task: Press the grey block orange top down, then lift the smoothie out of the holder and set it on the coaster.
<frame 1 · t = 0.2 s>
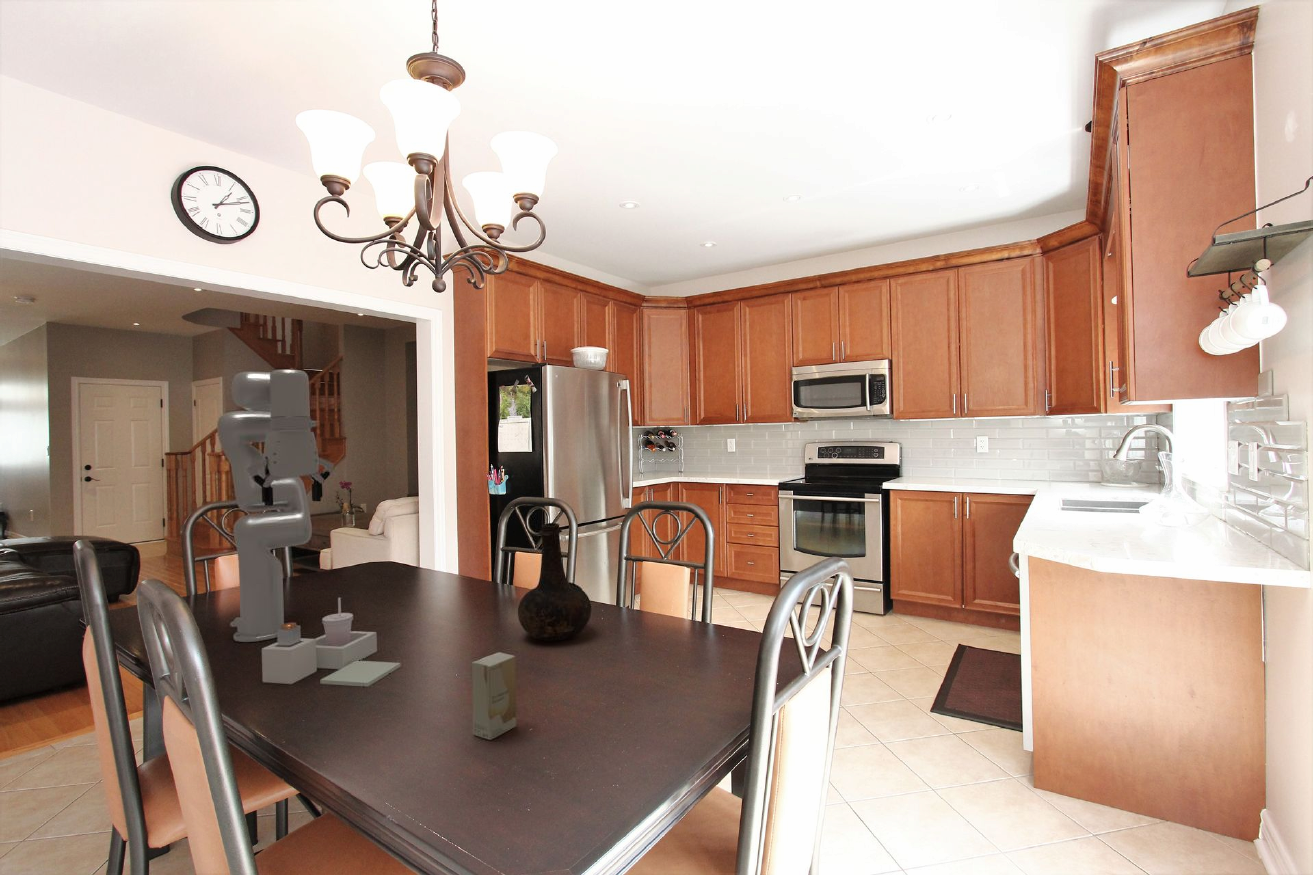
hand: (293, 503, 138), 36 cm above the table, tool pointing down, fingers open, 9 cm apart
glass bottle: (555, 636, 155), on the table
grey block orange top: (289, 639, 132), point 8 cm above the table, slide at 0.0 cm
smoothie: (338, 659, 143), resting in holder
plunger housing: (290, 676, 133), on the table
coaster: (361, 674, 132), on the table
holder: (338, 658, 143), on the table
skincare box: (495, 731, 106), on the table
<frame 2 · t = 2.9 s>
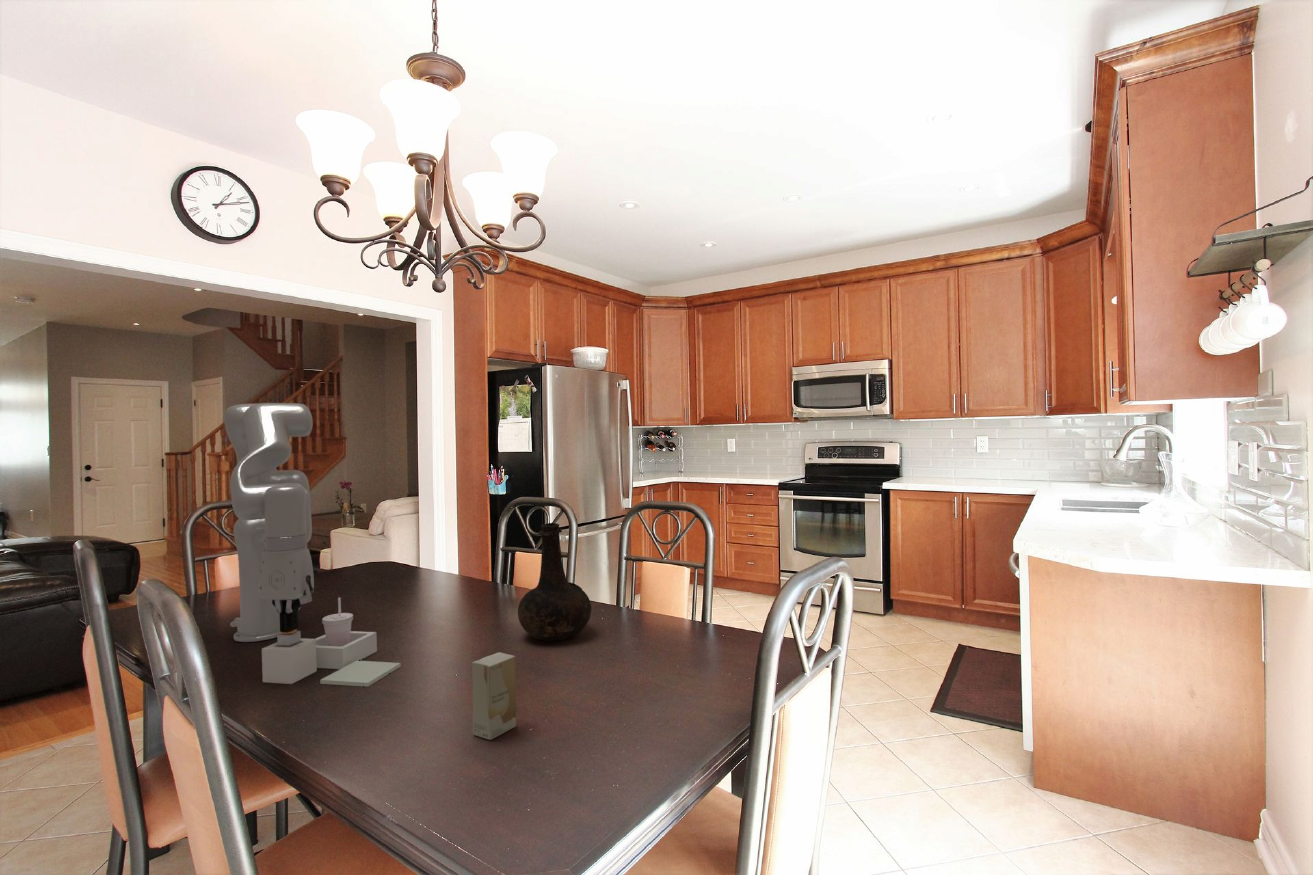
hand: (289, 630, 132), 10 cm above the table, tool pointing down, fingers closed
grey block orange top: (289, 645, 132), point 7 cm above the table, slide at 1.2 cm, touching gripper
everything else where it was.
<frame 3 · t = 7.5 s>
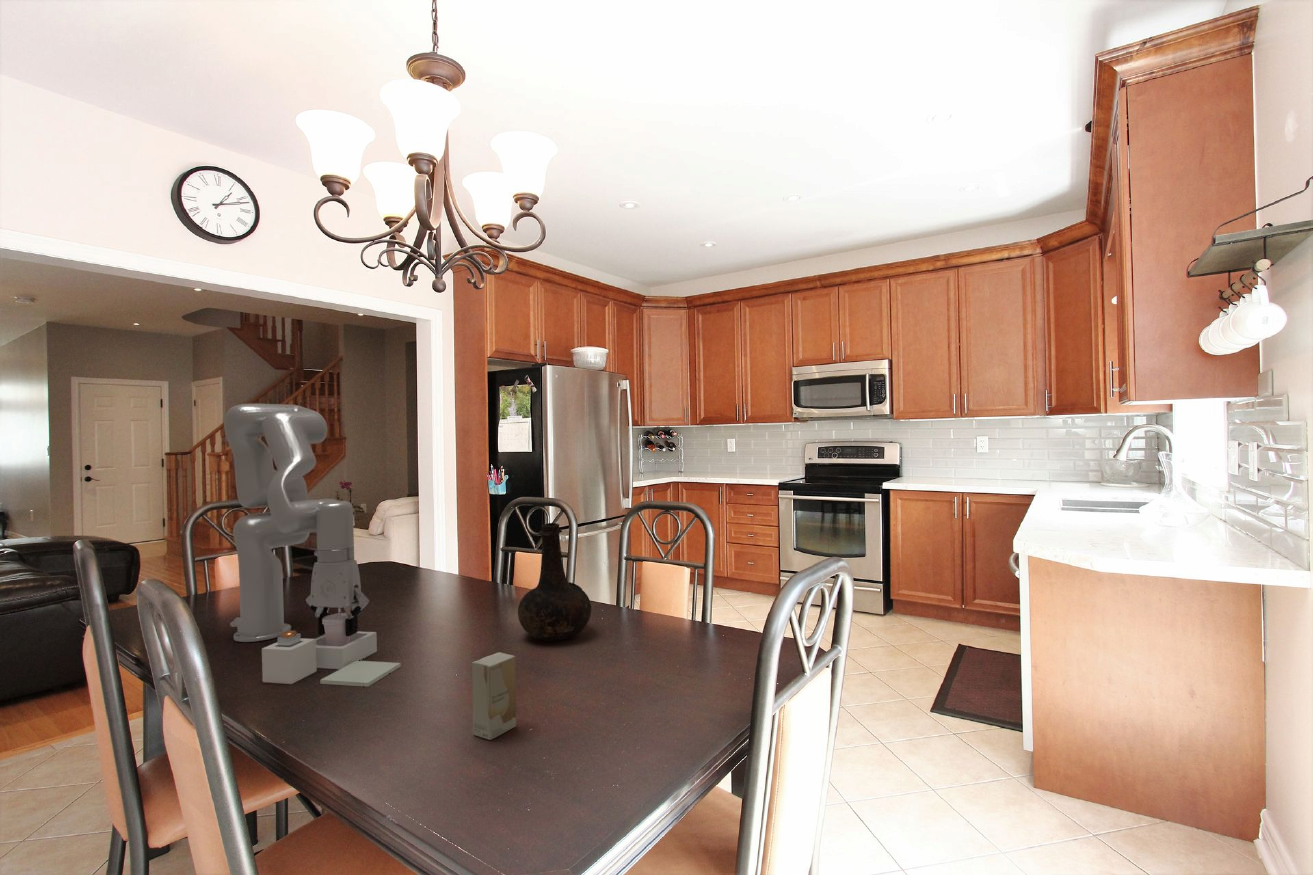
hand: (338, 633, 143), 6 cm above the table, tool pointing down, fingers closed on smoothie, 6 cm apart
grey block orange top: (289, 648, 132), point 6 cm above the table, slide at 1.7 cm
smoothie: (338, 659, 143), resting in holder, touching gripper
everything else where it was.
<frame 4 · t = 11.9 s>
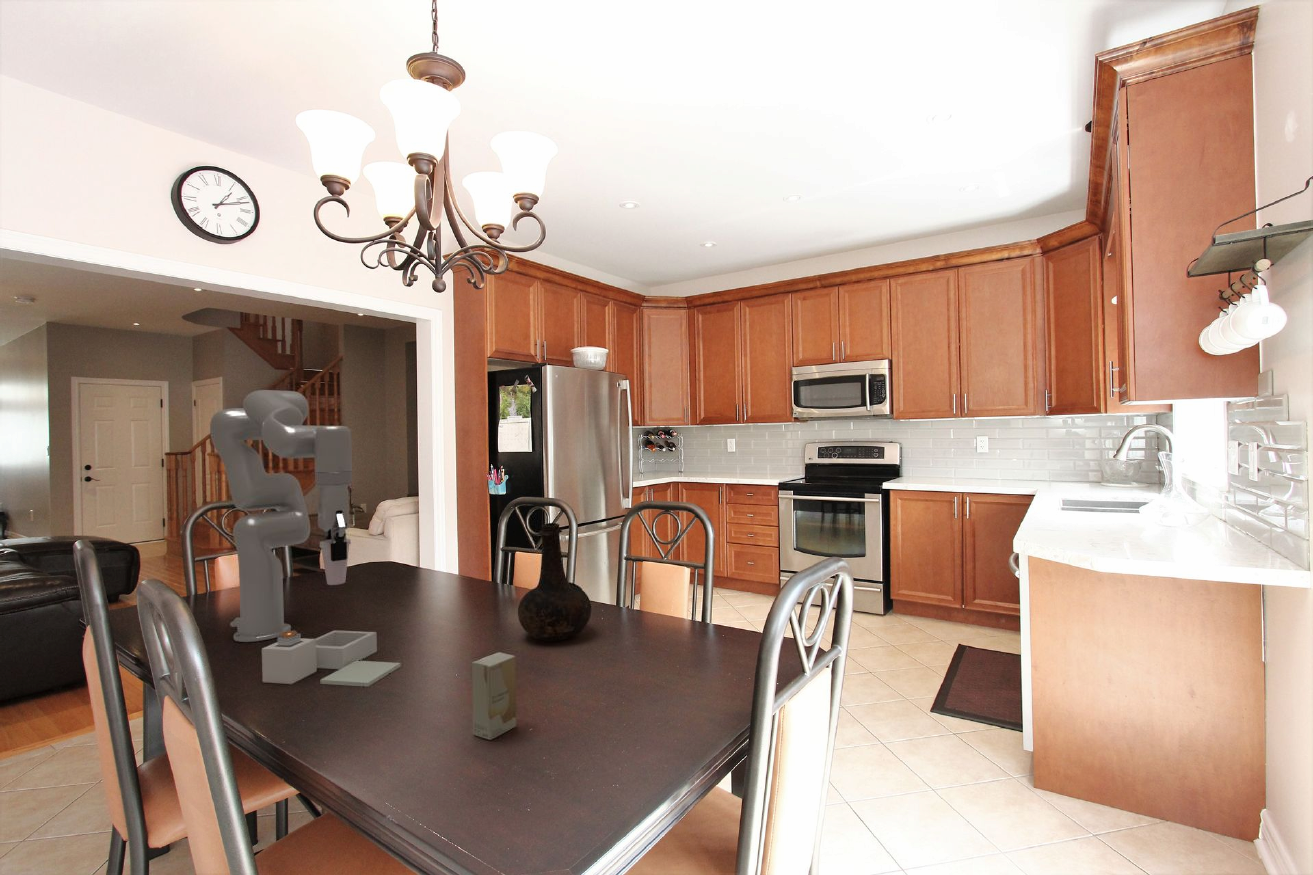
hand: (335, 557, 143), 23 cm above the table, tool pointing down, fingers closed on smoothie, 6 cm apart
smoothie: (336, 583, 143), point 17 cm above the table, touching gripper
everything else where it was.
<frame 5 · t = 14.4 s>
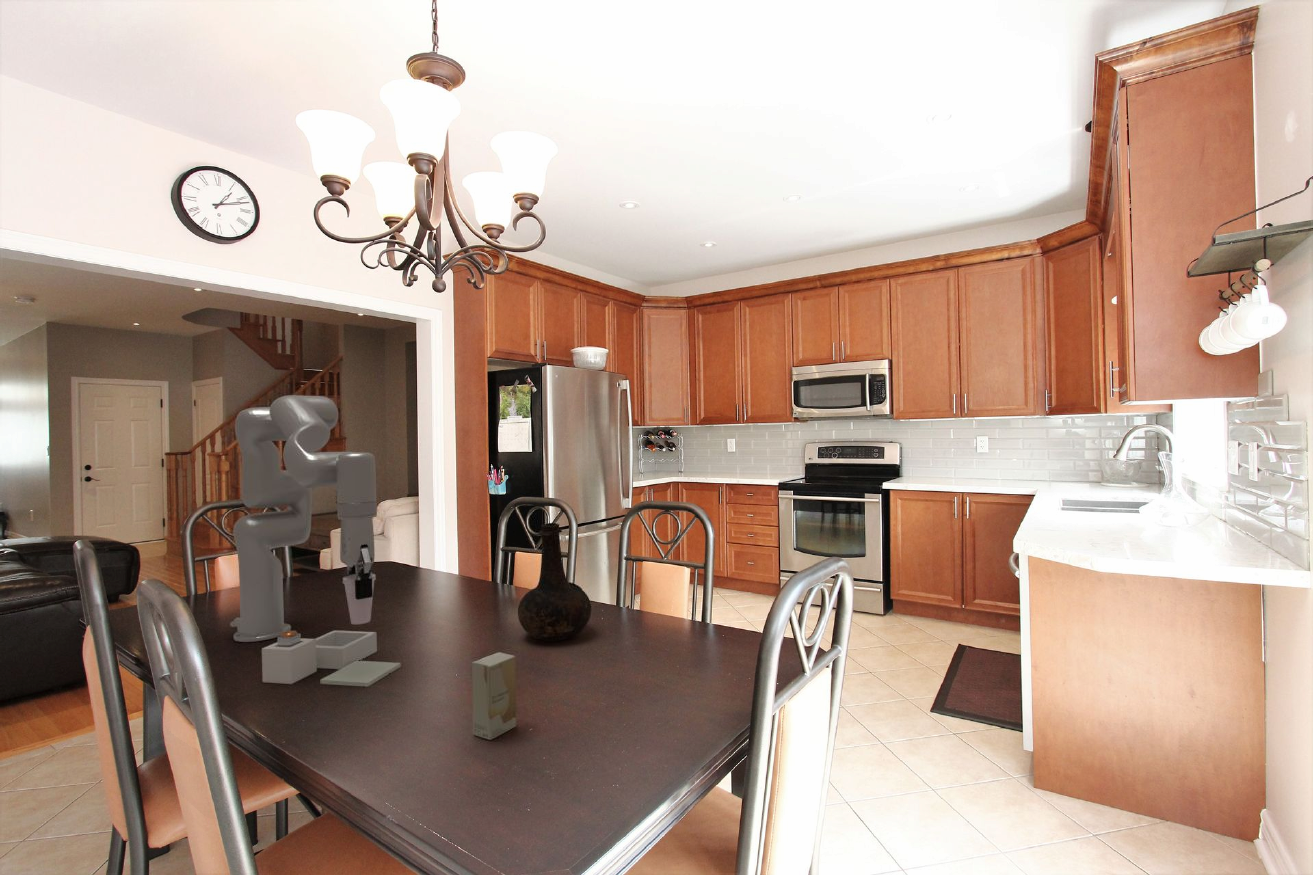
hand: (359, 594, 132), 17 cm above the table, tool pointing down, fingers closed on smoothie, 6 cm apart
smoothie: (360, 622, 132), point 11 cm above the table, touching gripper
everything else where it was.
when the fingers open (8 cm above the table, at t = 16.5 s): smoothie drops 1 cm, resting on coaster.
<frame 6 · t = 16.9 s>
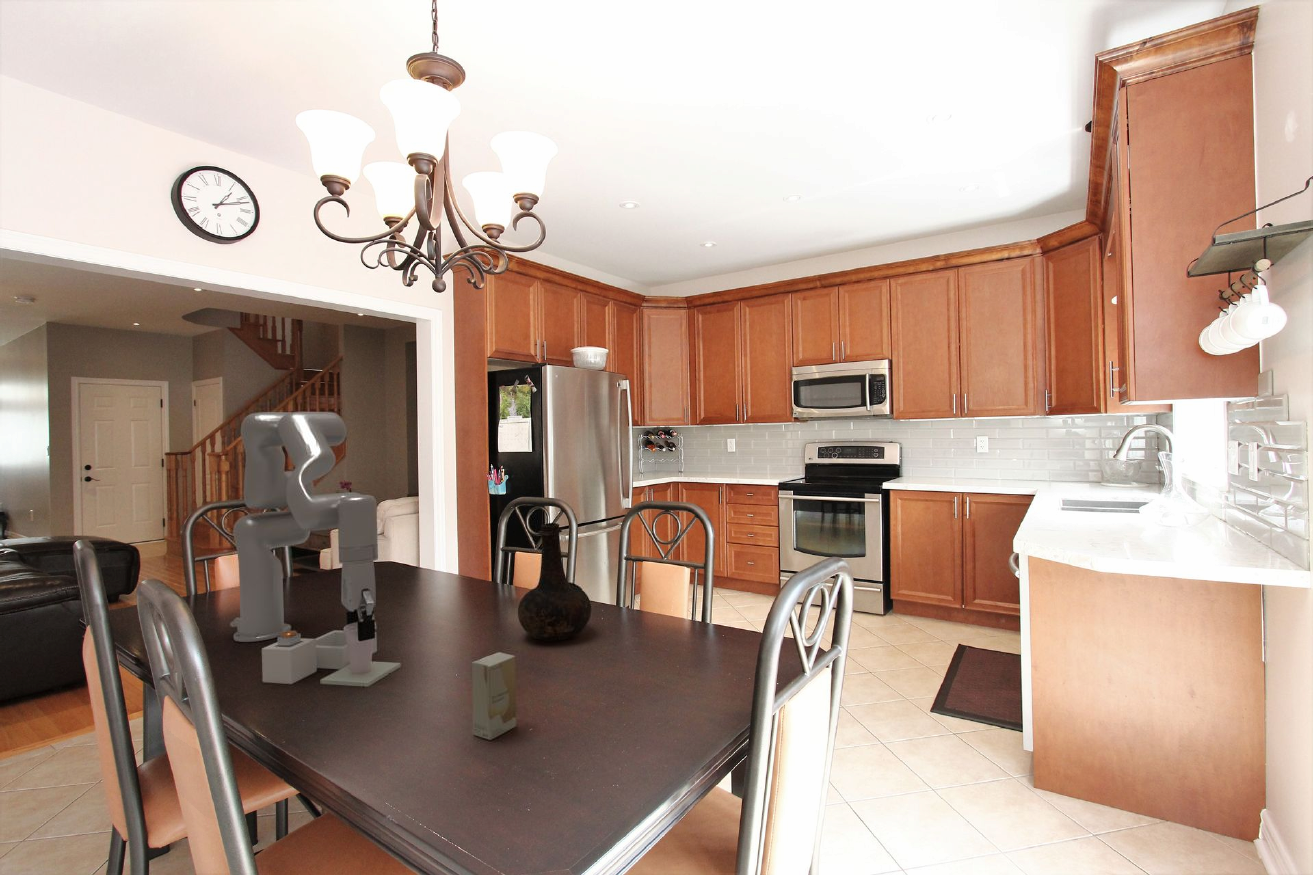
hand: (360, 634, 132), 9 cm above the table, tool pointing down, fingers open, 9 cm apart
smoothie: (361, 671, 133), point 1 cm above the table, touching coaster
everything else where it was.
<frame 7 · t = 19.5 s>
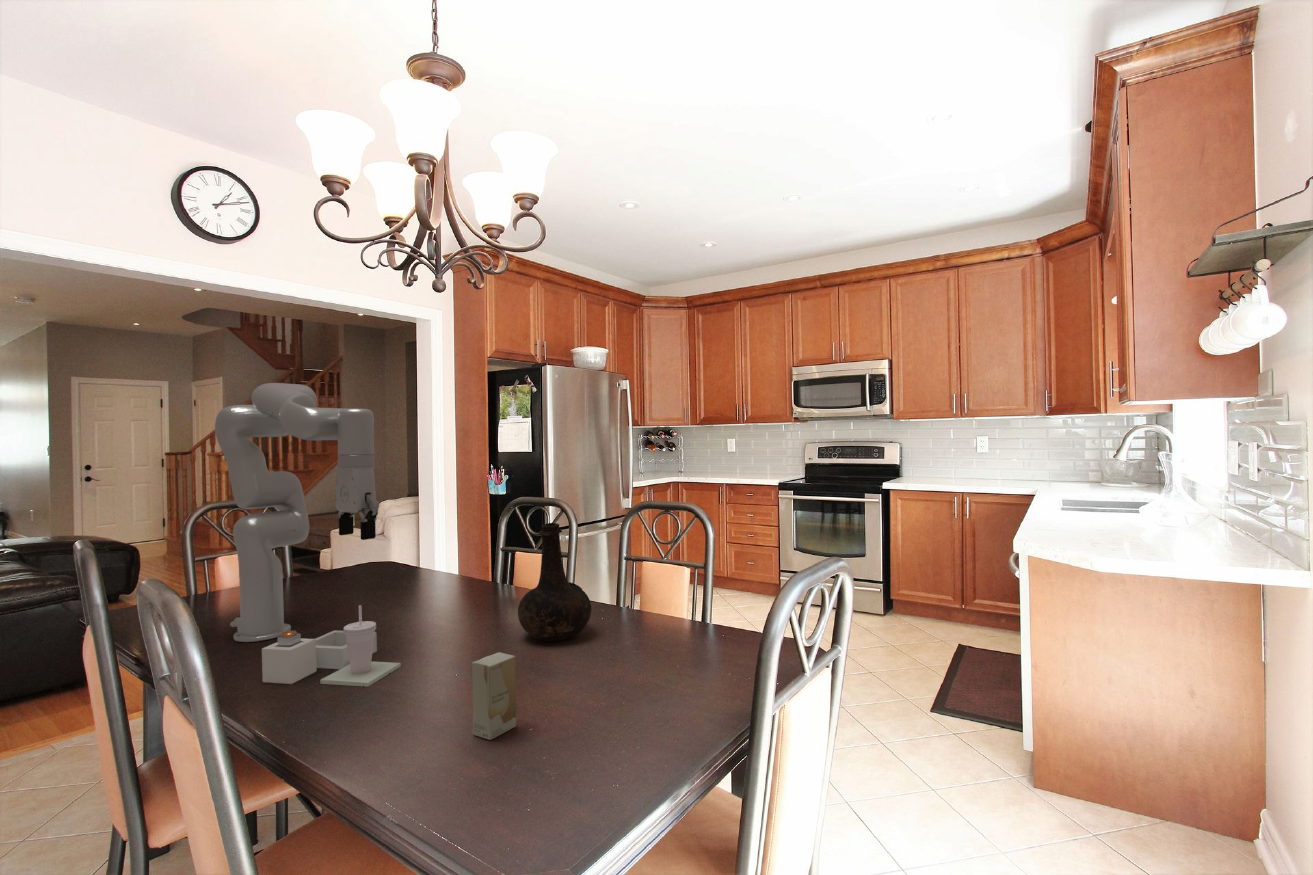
hand: (357, 536, 143), 28 cm above the table, tool pointing down, fingers open, 9 cm apart
nothing on the table moved.
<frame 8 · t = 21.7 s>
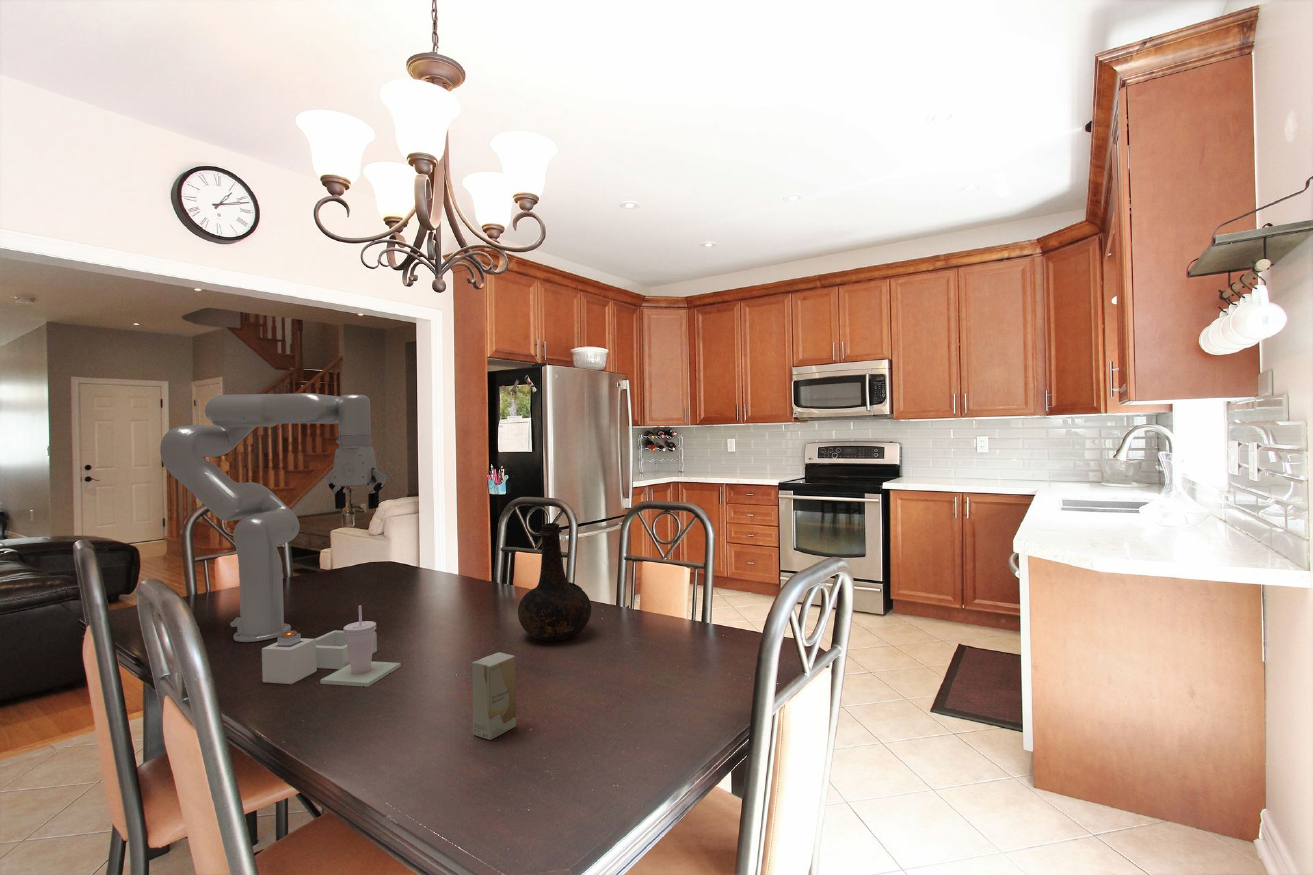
hand: (357, 508, 162), 32 cm above the table, tool pointing down, fingers open, 9 cm apart
nothing on the table moved.
at the end: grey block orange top slide at 1.7 cm; smoothie 0.4 cm off-centre on the coaster, point 0.6 cm above the coaster's base; smoothie tilted 0° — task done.
